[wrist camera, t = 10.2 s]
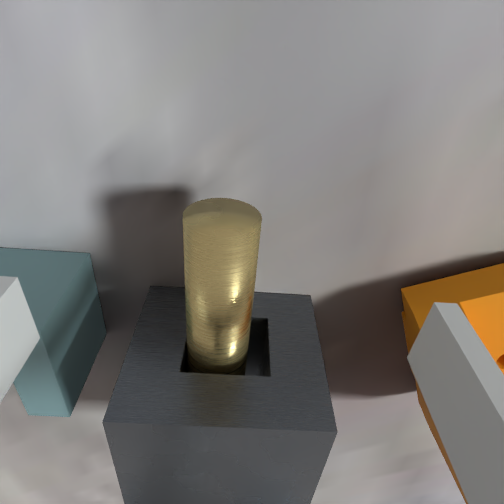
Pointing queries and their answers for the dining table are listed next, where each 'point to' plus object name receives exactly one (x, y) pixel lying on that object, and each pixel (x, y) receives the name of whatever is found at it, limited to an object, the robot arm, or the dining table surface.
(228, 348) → the axle
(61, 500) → the dining table surface
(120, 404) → the block
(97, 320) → the v block
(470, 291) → the bracket
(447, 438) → the robot arm
